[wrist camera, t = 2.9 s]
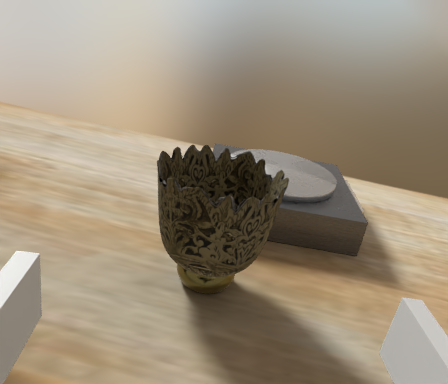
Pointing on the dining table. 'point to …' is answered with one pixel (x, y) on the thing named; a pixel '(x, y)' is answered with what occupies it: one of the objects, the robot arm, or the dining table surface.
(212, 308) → the dining table surface
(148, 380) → the dining table surface
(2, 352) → the robot arm
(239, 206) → the cup
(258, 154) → the kitchen scale
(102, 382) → the dining table surface
